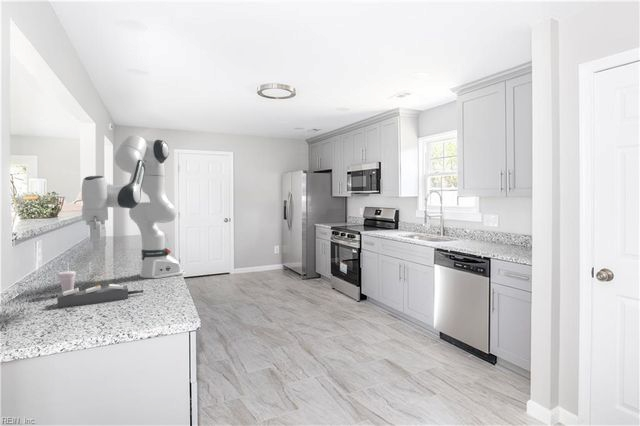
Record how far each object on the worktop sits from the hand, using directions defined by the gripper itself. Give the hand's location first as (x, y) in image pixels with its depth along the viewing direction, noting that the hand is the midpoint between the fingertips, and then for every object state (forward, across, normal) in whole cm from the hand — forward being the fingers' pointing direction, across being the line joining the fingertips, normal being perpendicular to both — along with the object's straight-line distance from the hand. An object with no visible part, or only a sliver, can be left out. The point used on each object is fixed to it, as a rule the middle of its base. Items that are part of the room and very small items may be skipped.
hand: (96, 250), depth 148 cm
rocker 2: (+17, 0, +1) cm, 17 cm away
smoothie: (+21, +19, +11) cm, 30 cm away
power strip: (+21, +2, -2) cm, 21 cm away
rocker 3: (+17, 0, -6) cm, 18 cm away
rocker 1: (+17, 0, +9) cm, 19 cm away
